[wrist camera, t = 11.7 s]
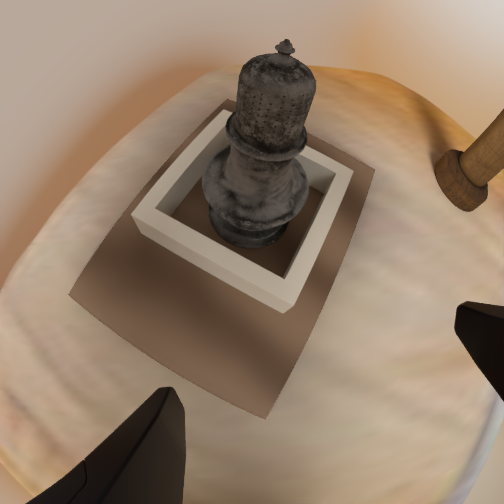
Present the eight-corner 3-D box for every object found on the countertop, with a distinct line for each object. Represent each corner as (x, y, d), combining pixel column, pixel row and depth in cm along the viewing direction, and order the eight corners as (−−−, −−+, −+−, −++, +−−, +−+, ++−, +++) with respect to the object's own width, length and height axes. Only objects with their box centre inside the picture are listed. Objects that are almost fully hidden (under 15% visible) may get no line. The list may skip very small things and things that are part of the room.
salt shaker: (281, 266, 17) (374, 116, 6) (190, 236, 17) (161, 60, 6) (302, 189, 20) (369, 40, 8) (222, 165, 20) (233, 4, 8)
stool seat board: (262, 415, 15) (273, 430, 12) (76, 298, 16) (48, 284, 13) (369, 177, 22) (388, 151, 19) (226, 108, 23) (228, 76, 20)
